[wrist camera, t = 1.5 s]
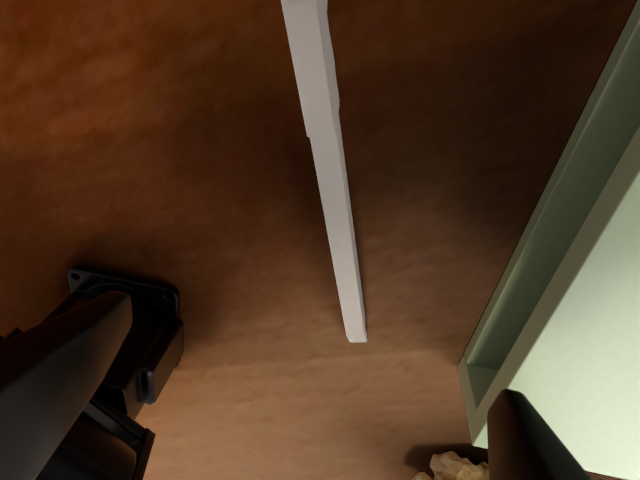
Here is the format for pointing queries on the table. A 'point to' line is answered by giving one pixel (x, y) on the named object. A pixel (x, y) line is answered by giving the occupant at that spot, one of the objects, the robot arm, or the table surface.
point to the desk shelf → (576, 288)
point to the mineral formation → (455, 468)
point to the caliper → (327, 147)
